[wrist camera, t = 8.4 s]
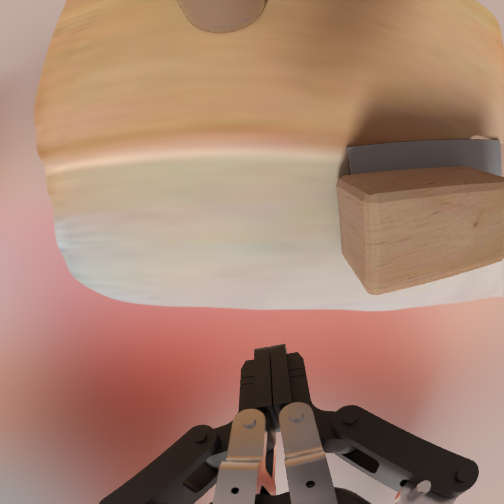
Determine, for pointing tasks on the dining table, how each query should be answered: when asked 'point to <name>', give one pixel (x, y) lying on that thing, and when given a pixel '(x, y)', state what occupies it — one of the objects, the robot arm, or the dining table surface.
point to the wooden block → (420, 224)
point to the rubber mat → (426, 155)
